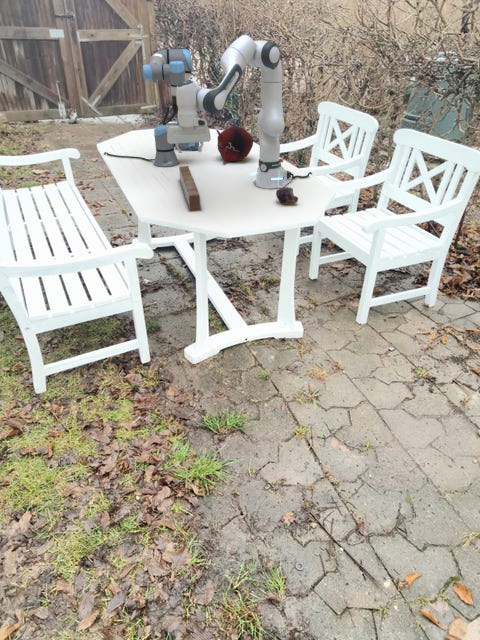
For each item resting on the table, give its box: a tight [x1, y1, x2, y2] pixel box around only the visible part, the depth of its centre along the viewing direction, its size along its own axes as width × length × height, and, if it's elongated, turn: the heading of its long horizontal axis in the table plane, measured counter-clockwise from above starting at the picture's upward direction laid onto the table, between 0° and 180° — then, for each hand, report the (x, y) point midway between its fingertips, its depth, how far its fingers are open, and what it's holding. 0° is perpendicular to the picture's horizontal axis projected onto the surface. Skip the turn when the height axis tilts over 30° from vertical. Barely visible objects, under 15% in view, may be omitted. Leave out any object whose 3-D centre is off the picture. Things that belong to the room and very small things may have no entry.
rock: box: [275, 186, 299, 205], centre depth 230 cm, size 12×9×10 cm
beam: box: [178, 165, 201, 212], centre depth 243 cm, size 52×5×8 cm, turn 12°
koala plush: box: [175, 142, 200, 151], centre depth 322 cm, size 17×18×20 cm
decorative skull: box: [216, 126, 254, 165], centre depth 296 cm, size 21×24×25 cm
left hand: (182, 137), depth 248 cm, fingers open, 13 cm apart
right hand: (189, 152), depth 213 cm, fingers open, 8 cm apart
